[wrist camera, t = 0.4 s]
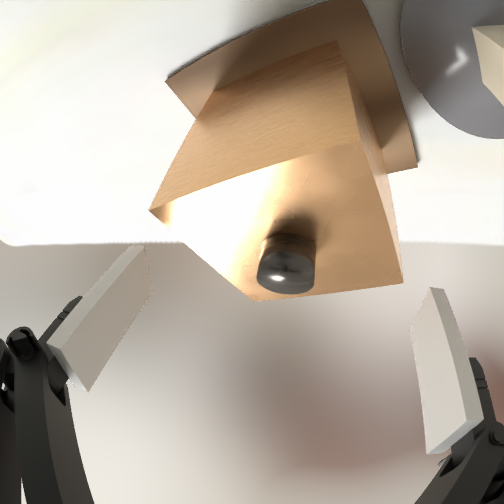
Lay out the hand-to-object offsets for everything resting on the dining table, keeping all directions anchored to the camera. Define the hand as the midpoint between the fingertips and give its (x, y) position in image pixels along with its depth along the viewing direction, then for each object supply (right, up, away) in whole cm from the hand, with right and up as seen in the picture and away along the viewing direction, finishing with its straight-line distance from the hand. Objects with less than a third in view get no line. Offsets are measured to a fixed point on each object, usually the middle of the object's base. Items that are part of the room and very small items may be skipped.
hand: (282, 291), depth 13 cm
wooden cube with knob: (+2, +11, +6) cm, 13 cm away
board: (+2, +11, +6) cm, 13 cm away
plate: (+14, +15, -3) cm, 21 cm away
